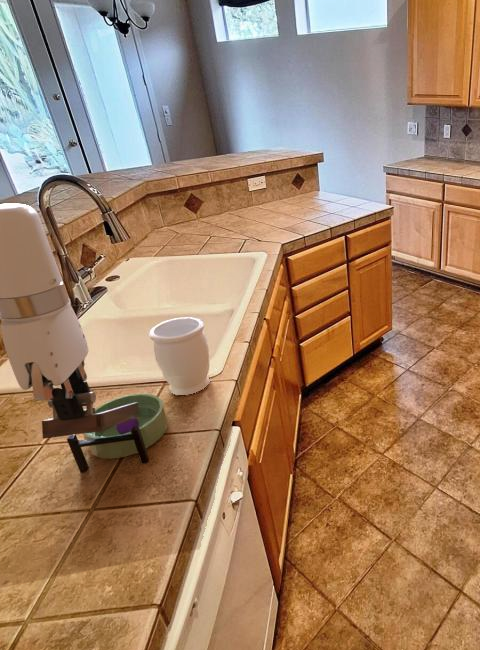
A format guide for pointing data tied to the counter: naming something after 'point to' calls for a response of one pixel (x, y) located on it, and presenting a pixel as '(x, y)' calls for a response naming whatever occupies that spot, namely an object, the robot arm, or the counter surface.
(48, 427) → the scoop
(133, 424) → the ball
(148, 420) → the bowl
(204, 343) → the jar
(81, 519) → the counter surface
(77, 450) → the bracket
